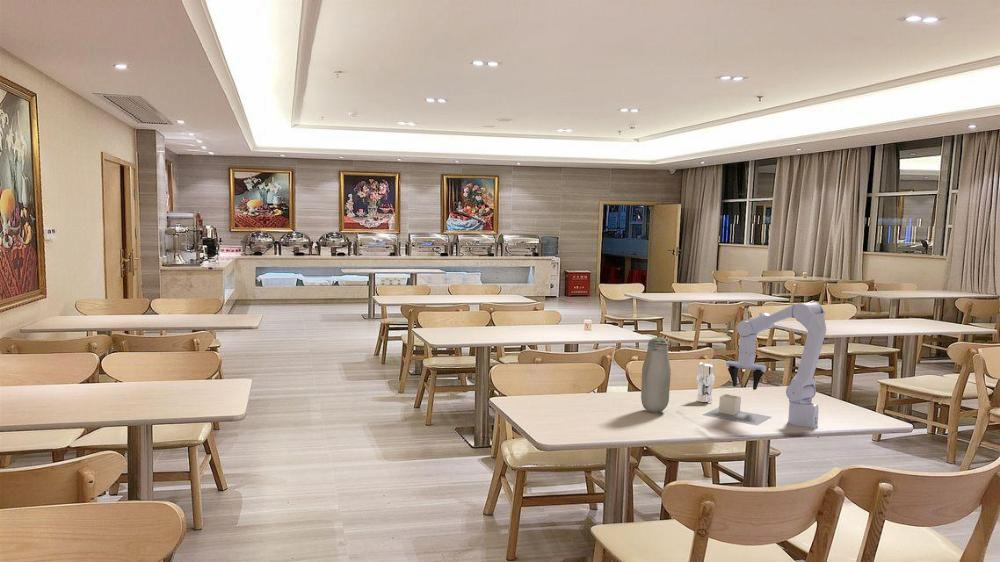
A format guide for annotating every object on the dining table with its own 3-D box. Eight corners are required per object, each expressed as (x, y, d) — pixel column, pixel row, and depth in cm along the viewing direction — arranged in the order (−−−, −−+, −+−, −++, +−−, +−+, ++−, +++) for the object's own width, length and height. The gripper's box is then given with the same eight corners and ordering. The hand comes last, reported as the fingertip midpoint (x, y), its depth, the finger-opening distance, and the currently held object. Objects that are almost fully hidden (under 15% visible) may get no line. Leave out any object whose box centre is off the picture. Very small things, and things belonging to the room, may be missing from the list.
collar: (740, 412, 271) (740, 396, 270) (734, 415, 266) (735, 399, 266) (724, 409, 274) (725, 393, 274) (718, 412, 270) (719, 396, 269)
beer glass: (699, 398, 297) (701, 362, 296) (716, 401, 293) (718, 364, 292) (692, 401, 292) (694, 364, 291) (708, 404, 287) (710, 366, 286)
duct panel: (772, 420, 266) (772, 416, 266) (757, 428, 253) (757, 425, 253) (718, 410, 278) (719, 407, 278) (702, 418, 266) (702, 414, 265)
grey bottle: (657, 416, 266) (660, 340, 264) (635, 410, 274) (638, 336, 272) (673, 412, 272) (677, 338, 270) (652, 407, 280) (655, 334, 278)
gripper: (769, 353, 273) (767, 389, 274) (731, 348, 282) (729, 383, 283) (763, 355, 268) (761, 392, 269) (724, 350, 277) (723, 385, 278)
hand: (744, 387), depth 276 cm, fingers open, 7 cm apart
